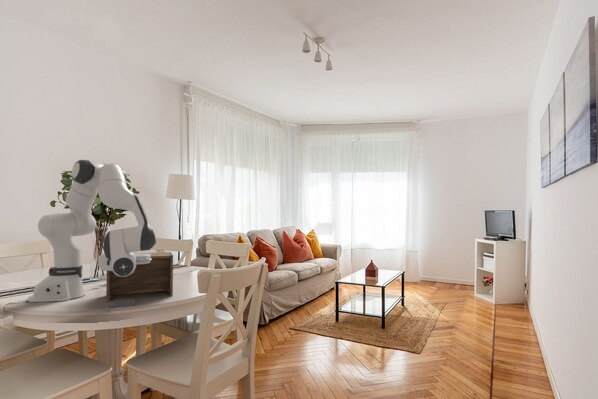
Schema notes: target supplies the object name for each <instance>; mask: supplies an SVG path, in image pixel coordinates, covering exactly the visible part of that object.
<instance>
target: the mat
mask: <svg viewBox="0 0 598 399" xmlns="http://www.w3.org/2000/svg"><path fill="white" fill-rule="evenodd" d="M108 302H109V303H108V306H107V307H108V308H110V307H111V308H120V307H133V306H135V298H130V299H128V298H127V299H116V300H109V301H108Z"/></svg>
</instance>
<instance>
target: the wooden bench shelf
mask: <svg viewBox="0 0 598 399" xmlns="http://www.w3.org/2000/svg"><path fill="white" fill-rule="evenodd" d="M140 254H150V255H151V258H152V261H150V263H148V264H136V268H135V270H134V272H133V273H132V274H130V275H128V276H126V277H120V276H117V275H115V274H114V272H113V271H106V291H105V292H106V300H105V301H106V302H110V299H111V296H114V295H126V294H138V293H151V292H152V293H153V292H163V291H164V292H165V291H168V293H169V295H170V297H173V296H174V293H173V292H174V290H173V289H174V288H173V287H174V255H173V254H172V252H171V251H170V252H169V251H167V252H146V253H141V252H140Z"/></svg>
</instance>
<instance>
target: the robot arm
mask: <svg viewBox="0 0 598 399" xmlns="http://www.w3.org/2000/svg"><path fill="white" fill-rule="evenodd" d="M71 178H72V179H73V182H72V183H71V186H70V188H69V190H68V193H67V195H66V197H65V203H66V205H67V206H68V207H69V209H71V210H70V211H69V212H68V213H64V212H63V213H59V212H57V213H50V214H46V215H43V216H41V218H40V219H39V220H38V223H37V229H38V232H39V234H40V235H42V236H43V237H45V238H46V239H47V240H48V242H49V243H50V245H51V246H52V250H53V251H52V252H53V266H51V267H49V269H48V276H47V277H44V279H42V280H41V281H39V282H38V283H37V284H36V285H35V287H34V289H33V293H32V294H33V295H30V296H29V297H27V299H26V302H27V301H29V302H28V303H42V302H43V303H44V302H45V303H46V302H62V301H63V302H64V301H69V300H72V299H77V298H80V297H84V296H85V295H86V293H85V289H84V286H83V275H84V274H83V272H84V270H83V265H82V257H83V256H82V254H83V253H82V249H81V247H80V246H79V245H77V244H75V243H73V240H72V237H80V236H82V237H83V236H85V235H89V234H92V233H93V232H94V231H95V230H96V227H97V221H96V218H95V217H94V216H93V215H92V207H93V205H94V202H95V200H96V198H97V195H98V197H99V200H100V202H102V203H103V205H105V206H107V207H108V208H113V209H117V210H118V209H119V210H125V211H129V212H131V213H132V214H133V215H134V218H135V219H136V222H137V225H136V226H131V227H126V228H119V229H118V228H117V229H113V230H109V231H108V232H107V233H106V235H105V236H104V237H103V251H104V253H103V254H100V255H98V257H97V258H98V259H97V261H98V264H97V265H98V268H100V271H104V272H107V271H113V272H114V274H115V275H117V276H120V277H126V276H128V275H130V274H132V273H133V272H134V270H135V268H136V264H148V263H150V261H152V258H151V255H150V254H141V253H136V252H144V251H150V250H152V248H154V246H156V244H157V235H156V231H155V229H154V228H153V226H152V225H151V222H150V220H149V219H148V216H147V213H146V211H145V208H144V206H143V204H142V202H141V200H140V198H139V196H138V195H137V194H136V193H134V192H132V191H130V190H129V188H128V185H127V184H128V183H127V180H128V179H127V178H128V175H127V173H126V171H125V170H124V169H122V168H121V167H120V166H119V165H117V164H115V163H104V162H103V163H101V162H98V161H97V162H96V161H90V160H89V159H88V160H87V159H79V160H77V161H76V162H75V163H74V165H73V166H72V169H71Z"/></svg>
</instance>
